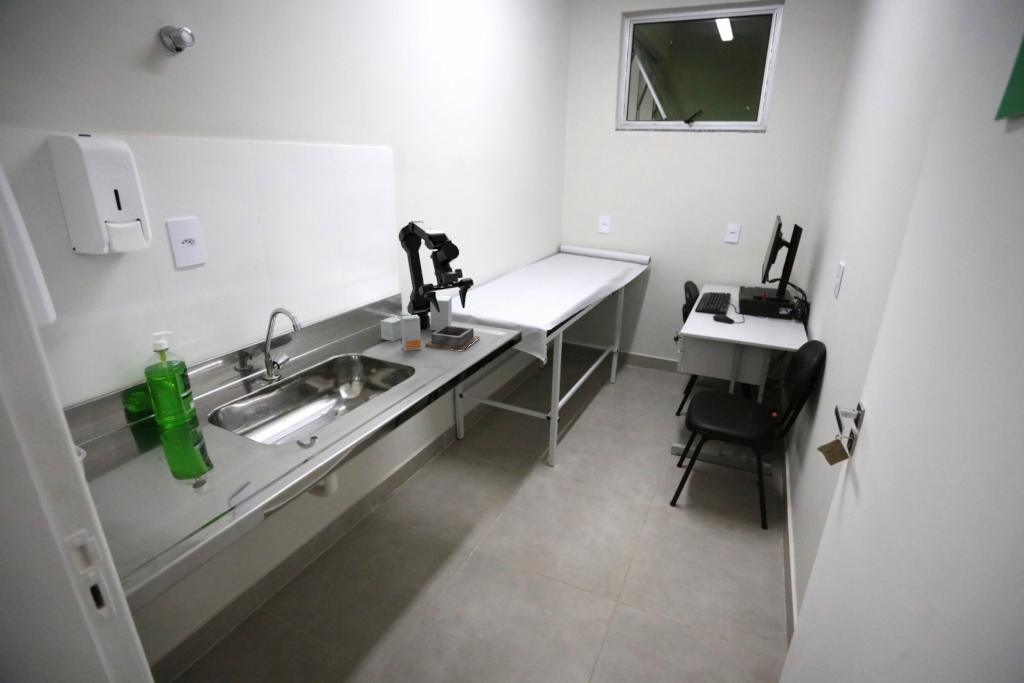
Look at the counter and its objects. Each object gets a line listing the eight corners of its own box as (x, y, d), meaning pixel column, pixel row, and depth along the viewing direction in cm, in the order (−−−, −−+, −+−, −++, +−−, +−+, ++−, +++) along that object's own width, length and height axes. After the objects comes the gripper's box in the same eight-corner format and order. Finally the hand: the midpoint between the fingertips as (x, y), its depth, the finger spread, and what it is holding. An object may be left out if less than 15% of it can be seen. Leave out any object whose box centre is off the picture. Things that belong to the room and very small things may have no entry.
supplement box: (452, 326, 208) (452, 296, 203) (448, 331, 201) (448, 301, 197) (434, 324, 208) (434, 295, 204) (429, 330, 201) (429, 299, 197)
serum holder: (425, 346, 184) (424, 334, 183) (444, 334, 197) (443, 323, 196) (463, 351, 179) (462, 339, 178) (479, 338, 193) (479, 327, 191)
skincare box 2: (405, 351, 179) (402, 319, 175) (402, 347, 183) (400, 316, 179) (421, 349, 181) (420, 317, 177) (419, 345, 185) (417, 314, 181)
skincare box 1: (393, 341, 189) (392, 322, 187) (381, 339, 192) (379, 320, 190) (404, 337, 194) (403, 318, 192) (392, 334, 197) (391, 316, 195)
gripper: (421, 264, 167) (431, 310, 167) (473, 258, 175) (483, 301, 174) (414, 272, 177) (423, 316, 177) (464, 266, 185) (473, 307, 184)
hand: (451, 310), depth 178 cm, fingers open, 9 cm apart
